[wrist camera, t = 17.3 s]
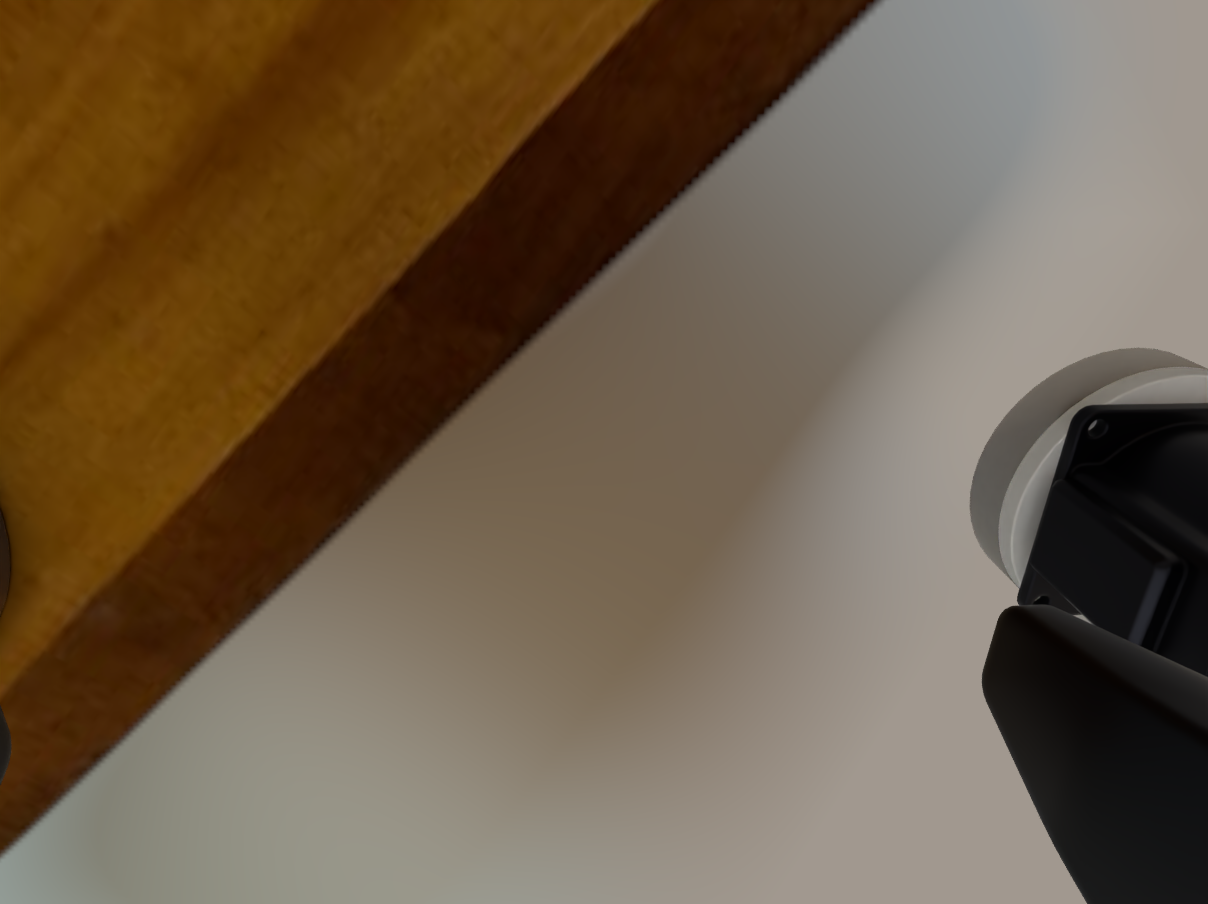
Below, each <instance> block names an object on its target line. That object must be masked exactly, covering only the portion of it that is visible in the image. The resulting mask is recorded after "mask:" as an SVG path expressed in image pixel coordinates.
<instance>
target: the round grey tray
mask: <svg viewBox="0 0 1208 904" xmlns="http://www.w3.org/2000/svg"><path fill="white" fill-rule="evenodd" d="M9 577H10V554H9V542H8V538H7V533H6V529H5V525H4V520H3V517H2V514H1V511H0V616H1V613H2V610H3V607H4V604H5V601H6V597H7V594H8V586H9Z"/></svg>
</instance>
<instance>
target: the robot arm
mask: <svg viewBox="0 0 1208 904" xmlns="http://www.w3.org/2000/svg"><path fill="white" fill-rule="evenodd" d="M1096 420H1097V422H1096V424H1095V426H1094V427H1093V428H1091V429H1090V430H1088V428H1089V427H1090V425H1091V424H1092V423H1093V422H1094V421H1096ZM1038 597H1040V598H1039V599H1037V598H1038ZM1036 599H1037V600H1036ZM1035 600H1036V601H1035ZM1017 602H1018V604H1019V606H1011V607H1009V608H1007V609H1005V610H1004V611H1003V612H1002V613H1001V615H1000V616H999V618H998V621H997V625H996V628H995V631H994V635H993V638H992V641H991V645H990V648H989V652H988V655H987V658H986V662H985V665H984V669H983V673H982V688H983V693H984V696H985V699H986V702H987V704H988V706H989V708H990V710H991V713H992V715H993V717H994V719H995V721H996V723H997V725H998V728H999V730H1000V732H1001V734H1002V736H1003V739H1004V741H1005V743H1006V745H1007V747H1008V749H1009V751H1010V754H1011V756H1012V758H1013V760H1014V762H1015V764H1016V767H1017V769H1018V771H1019V773H1020V775H1021V777H1022V779H1023V782H1024V784H1025V786H1026V788H1027V790H1028V792H1029V794H1030V796H1031V799H1032V801H1033V803H1034V805H1035V807H1036V809H1037V812H1038V814H1039V816H1040V818H1041V820H1042V822H1043V824H1044V826H1045V828H1046V830H1047V832H1048V834H1049V836H1050V838H1051V840H1052V842H1053V844H1054V846H1055V848H1056V850H1057V852H1058V853H1059V855H1060V857H1061V859H1062V861H1063V863H1064V864H1065V866H1066V868H1067V870H1068V871H1069V873H1070V875H1071V876H1072V878H1073V880H1074V882H1075V884H1076V885H1077V887H1078V889H1079V890H1080V892H1081V893H1082V896H1083V897H1084V899H1085V901H1086V902H1087V904H1208V403H1172V404H1104V405H1089V406H1085V407H1084V408H1082V409H1080V410H1079V411H1078V412H1077V413H1076V414H1075V415H1074V416H1073V418H1072V420H1071V422H1070V425H1069V428H1068V432H1067V435H1066V438H1065V441H1064V445H1063V448H1062V451H1061V455H1060V458H1059V461H1058V464H1057V468H1056V471H1055V474H1054V478H1053V481H1052V484H1051V487H1050V491H1049V494H1048V497H1047V501H1046V504H1045V507H1044V510H1043V514H1042V517H1041V520H1040V524H1039V527H1038V530H1037V533H1036V537H1035V540H1034V543H1033V547H1032V550H1031V553H1030V556H1029V560H1028V563H1027V566H1026V569H1025V573H1024V576H1023V579H1022V583H1021V586H1020V589H1019V593H1018V596H1017ZM1073 615H1083V616H1084V617H1085V618H1086V619H1087V620H1088V621H1089V622H1091V623H1092V624H1091V623H1089V622H1086V621H1084V620H1082V619H1080V618H1078V617H1076V616H1073ZM10 755H11V736H10V732H9V729H8V726H7V723H6V720H5V717H4V715H3V712H2V709H1V706H0V785H1V782H2V780H3V777H4V775H5V772H6V769H7V767H8V763H9V760H10Z"/></svg>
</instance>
